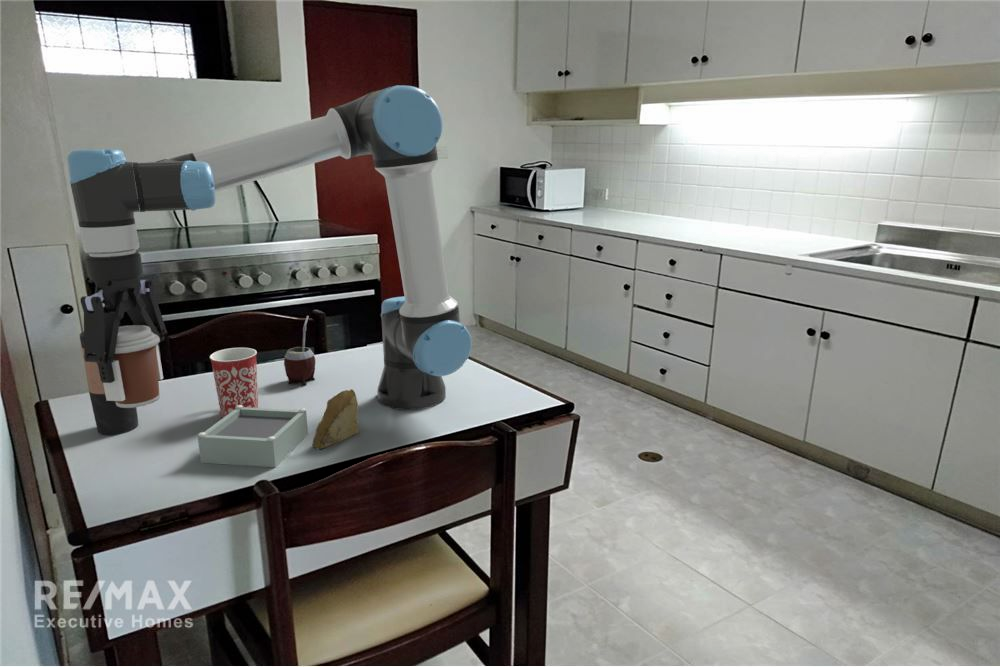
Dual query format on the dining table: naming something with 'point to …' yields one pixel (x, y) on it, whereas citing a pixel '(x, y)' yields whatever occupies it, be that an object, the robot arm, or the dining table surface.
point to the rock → (338, 420)
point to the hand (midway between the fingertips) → (136, 389)
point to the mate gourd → (300, 363)
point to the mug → (235, 378)
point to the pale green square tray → (253, 436)
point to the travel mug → (106, 404)
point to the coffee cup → (137, 365)
